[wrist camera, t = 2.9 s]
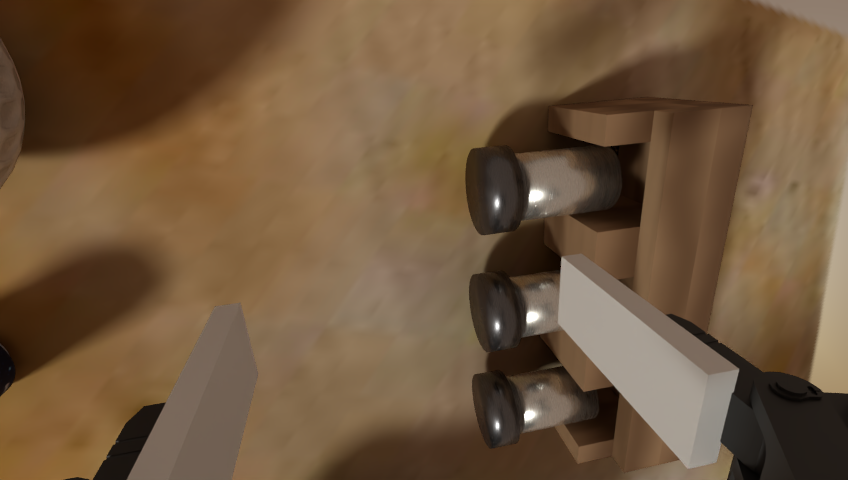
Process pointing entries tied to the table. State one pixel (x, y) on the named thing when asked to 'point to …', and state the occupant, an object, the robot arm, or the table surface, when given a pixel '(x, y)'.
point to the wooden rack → (648, 239)
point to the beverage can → (6, 370)
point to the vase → (10, 114)
